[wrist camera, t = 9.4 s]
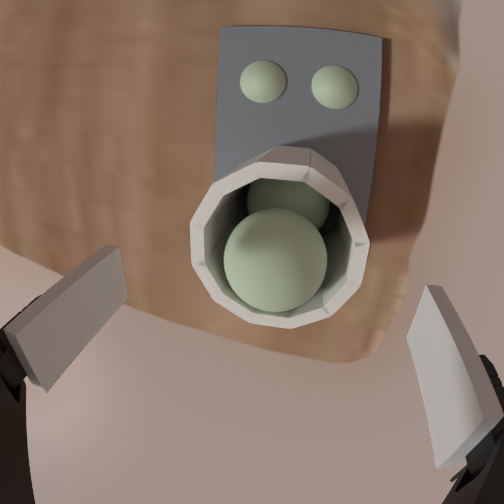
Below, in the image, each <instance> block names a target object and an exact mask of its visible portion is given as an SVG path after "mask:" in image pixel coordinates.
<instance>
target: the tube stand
mask: <svg viewBox="0 0 504 504" xmlns="http://www.w3.org/2000/svg"><path fill="white" fill-rule="evenodd" d="M381 73H382V38H381V37H375V36H370V35H364V34H358V33H351V32H344V31H337V30H328V29H318V28H305V27H286V26H239V27H220V43H219V62H218V84H217V112H216V151H215V183H213V184H212V185H211V187H210V189H209V190H208V192H207V194H206V195H205V197H204V199H203V201H202V202H201V204H200V206H199V207H198V209H197V211H196V213H195V214H194V216H193V218H192V220H191V223H190V240H191V262H192V264H193V265H192V266H193V268H194V270H195V271H196V273H197V274H198V276H199V278H200V279H201V281H202V283H203V284H204V286H205V287H206V289H207V291H208V292H209V294H210V295H211V297H212V299H213V300H214V301H215V302H217V303H218V304H220V305H221V306H223V307H225V308H226V309H228V310H229V311H231V312H232V313H234V314H236V315H237V316H239V317H240V318H242V319H243V320H245V321H247V322H248V323H249V322H250V323H252V324H259V325H266V326H273V327H280V328H288V329H291V328H292V329H293V328H296V327H299V326H302V325H306V324H309V323H312V322H315V321H318V320H322V319H325V318H328V317H331V316H332V315H333V314H334V313H335V312H336V311H337V310H338V309H339V308H340V307H341V306H342V305H343V304H344V303H345V302H346V301H347V300H348V299H349V298H350V297H351V296H352V295H353V294H354V293H355V292H356V291H357V289H358V288H359V287H360V285H361V283H362V278H363V274H364V270H365V265H366V261H367V256H368V251H369V246H370V241H369V238H368V236H367V233H366V230H365V224H366V218H367V212H368V206H369V199H370V193H371V186H372V178H373V171H374V163H375V154H376V145H377V135H378V123H379V111H380V95H381ZM259 178H268V179H279V180H290V181H299V182H305V183H306V184H308V185H309V186H311V187H312V188H313V189H315V190H316V191H318V192H319V193H320V194H322V195H323V196H324V197H326V198H327V199H329V200H330V205H329V212H328V215H327V218H326V220H325V222H324V224H323V225H322V227H321V228H320V229H319V230H318V231H319V233H320V235H321V237H322V238H323V241H324V244H325V246H326V251H327V268H326V273H325V277H324V279H323V282H322V284H321V286H320V287H319V289H318V290H317V292H316V293H315V294H314V295H313V296H312V297H311V298H310V299H309V300H308V301H307V302H305V303H304V304H302V305H301V306H299V307H296V308H294V309H291V310H288V311H282V312H269V311H263V310H260V309H257V308H254V307H252V306H251V305H249V304H247V303H246V302H244V301H243V300H242V299H241V298H240V297H239V296H238V295H237V294H236V293H235V292H234V290H233V289H232V287H231V286H230V284H229V282H228V279H227V277H226V273H225V269H224V251H225V247H226V244H227V241H228V239H229V237H230V235H231V233H232V231H233V230H234V229H235V227H236V226H237V225H238V224H239V223H240V222H241V221H242V220H244V219H245V218H246V217H248V216H249V212H248V208H247V196H248V191H249V188H250V185H251V183H252V182H253V181H255V180H257V179H259Z"/></svg>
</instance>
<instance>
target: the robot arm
mask: <svg viewBox="0 0 504 504" xmlns="http://www.w3.org/2000/svg"><path fill="white" fill-rule="evenodd" d="M127 299H128V296H127V291H126V286H125V281H124V275H123V269H122V263H121V257H120V251H119V247H117V246H110V245H105V246H104V247H102V248H101V249H100V250H98V251H97V252H96V253H94V254H93V255H92V256H90V257H89V258H88V259H86V260H85V261H84V262H82V263H81V264H80V265H78V266H77V267H76V268H75V269H73V270H72V271H71V272H70V273H68V274H67V275H66V276H64V277H63V278H62V279H61V280H60V281H58V282H57V283H56V284H55V285H53V286H52V287H51V288H50V289H49V290H47V291H46V292H45V293H44V294H42V295H40V296H38V297H36V298H35V299H34V300H33V301H32V302H30V304H28V306H26V307H25V308H23V310H22V312H19V313H18V314H17V315H16V316H14V317H13V318H12V319H11V320H10V321H9V322H8V323H6V325H4V326H3V327H2V328H1V329H0V504H35V500H34V494H33V488H32V482H31V475H30V467H29V457H28V446H27V429H26V384H25V382H24V380H23V379H24V378H25V377H26V376H28V378H29V379H30V381H31V383H32V384H33V386H34V387H36V388H38V389H39V390H41V391H43V392H45V393H47V392H48V391H49V390H50V388H51V387H52V386H53V385H54V383H55V382H56V381H57V380H58V379H59V377H60V376H61V375H62V374H63V372H64V371H65V370H66V369H67V368H68V366H69V365H70V364H71V363H72V362H73V360H74V359H75V358H76V357H77V356H78V354H79V353H80V352H81V351H82V350H83V349H84V347H85V346H86V345H87V344H88V342H90V340H91V339H92V338H93V337H94V335H96V333H97V332H98V331H99V330H100V329H101V327H103V325H104V324H105V323H106V322H107V321H108V320H109V319H110V318H111V316H112V315H113V314H114V313H115V312H116V311H117V310H118V309H119V307H120V306H121V305H122V304H123V303H124V302H125V301H126V300H127ZM406 338H407V341H408V344H409V348H410V351H411V355H412V358H413V362H414V365H415V369H416V373H417V377H418V380H419V384H420V389H421V392H422V397H423V401H424V405H425V410H426V415H427V419H428V424H429V429H430V434H431V440H432V445H433V451H434V457H435V464H436V469H440V468H446V467H453V466H456V465H457V464H458V463H459V462H460V461H461V460H463V459H464V458H465V457H466V461H467V465H466V466H465V467H464V468H463V469H462V470H461V471H459V472H458V473H457V474H456V475H455V476H453V478H452V479H451V480H450V481H451V482H453V481H454V480H455V479H456V478H457V480H456V482H455V484H454V485H453V487H452V489H451V490H450V492H449V494H448V495H447V497H446V498H445V500H444V501H443V503H442V504H504V387H503V386H502V383H501V380H500V378H498V374H497V372H496V370H495V367H494V365H493V364H492V363H491V362H490V361H489V359H488V358H487V357H486V356H485V355H478V353H477V350H476V349H475V347H474V344H473V342H472V340H471V339H470V336H469V334H468V333H467V331H466V329H465V327H464V325H463V323H462V321H461V319H460V318H459V316H458V314H457V312H456V310H455V309H454V307H453V305H452V303H451V302H450V300H449V298H448V296H447V295H446V293H445V291H444V290H443V288H442V286H435V285H426V286H425V289H424V292H423V295H422V298H421V301H420V304H419V306H418V309H417V312H416V314H415V317H414V320H413V322H412V325H411V327H410V330H409V333H408V335H407V337H406Z"/></svg>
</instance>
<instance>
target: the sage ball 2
mask: <svg viewBox="0 0 504 504" xmlns="http://www.w3.org/2000/svg"><path fill="white" fill-rule="evenodd" d="M326 268H327V251H326V246H325V244H324V241H323V238H322V237H321V235H320V233H319V231H318V230H317V228H316V227H315V226H314V225H313V224H312V223H311V222H310V221H309V220H308V219H306V218H305V217H304V216H302V215H300V214H298V213H296V212H294V211H290V210H286V209H279V208H271V209H265V210H261V211H258V212H255V213H253V214H251V215H249V216H248V217H246V218H245V219H244V220H242V221H241V222H240V223H239V224H238V225H237V226H236V227H235V229H234V230H233V231H232V233H231V235H230V237H229V239H228V241H227V244H226V247H225V251H224V269H225V273H226V277H227V279H228V282H229V284H230V286H231V287H232V289H233V290H234V292H235V293H236V294H237V295H238V296H239V297H240V298H241V299H242V300H243V301H244V302H246V303H247V304H249V305H251V306H252V307H254V308H257V309H260V310H263V311H269V312H282V311H288V310H291V309H294V308H296V307H299V306H301V305H302V304H304V303H305V302H307V301H308V300H309V299H310V298H311V297H312V296H313V295H314V294H315V293H316V292H317V290H318V289H319V287H320V286H321V284H322V282H323V279H324V277H325V273H326Z"/></svg>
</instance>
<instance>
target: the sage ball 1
mask: <svg viewBox="0 0 504 504" xmlns="http://www.w3.org/2000/svg"><path fill="white" fill-rule="evenodd" d="M329 205H330V200H329V199H327V198H326V197H324V196H323V195H322V194H320V193H319V192H318V191H316V190H315V189H313V188H312V187H311V186H309V185H308V184H306V183H305V182H299V181H290V180H279V179H268V178H259V179H257V180H255V181H253V182H252V183H251V185H250V188H249V191H248V196H247V208H248V212H249V215H251V214H253V213H255V212H258V211H261V210H265V209H271V208H279V209H286V210H290V211H294V212H296V213H298V214H300V215H302V216H304V217H305V218H306V219H308V220H309V221H310V222H311V223H312V224H313V225H314V226H315V227H316V228H317V230H319V229H320V228H321V227H322V225H323V224H324V222H325V220H326V218H327V215H328V212H329Z"/></svg>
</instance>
